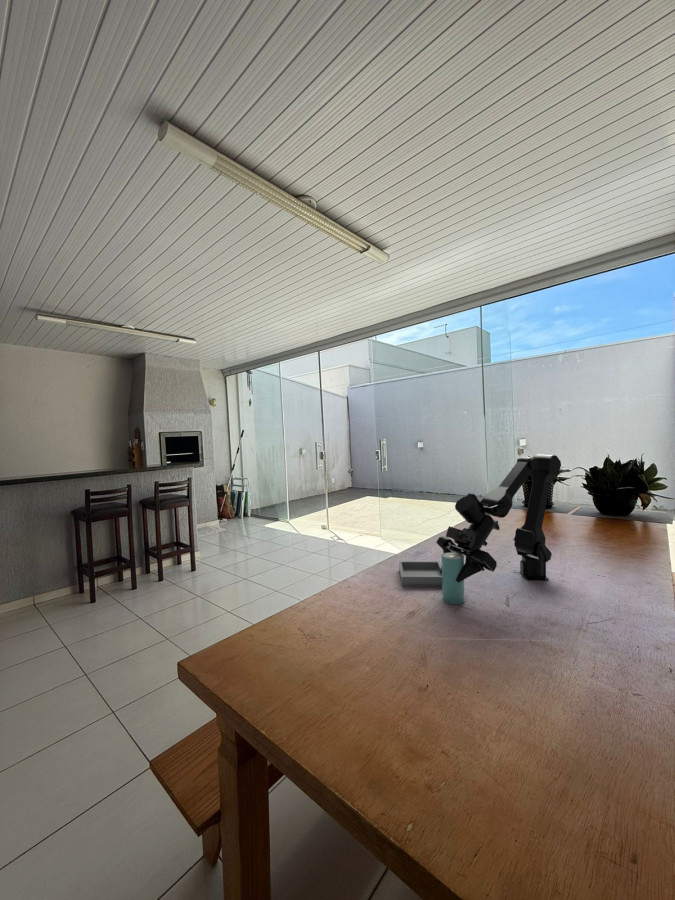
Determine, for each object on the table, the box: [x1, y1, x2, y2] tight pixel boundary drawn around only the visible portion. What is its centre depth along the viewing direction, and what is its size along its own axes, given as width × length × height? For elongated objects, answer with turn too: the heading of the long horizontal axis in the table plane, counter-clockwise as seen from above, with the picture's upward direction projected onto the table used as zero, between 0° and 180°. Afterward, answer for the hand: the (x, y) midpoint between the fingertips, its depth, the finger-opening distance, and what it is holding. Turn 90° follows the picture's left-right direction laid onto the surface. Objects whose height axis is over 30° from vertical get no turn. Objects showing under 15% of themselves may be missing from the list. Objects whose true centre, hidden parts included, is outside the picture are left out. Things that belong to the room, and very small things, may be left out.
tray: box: [398, 560, 442, 587], centre depth 125 cm, size 14×14×3 cm
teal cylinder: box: [441, 552, 465, 605], centre depth 109 cm, size 6×6×13 cm
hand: (449, 577), depth 108 cm, fingers closed on teal cylinder, 6 cm apart
